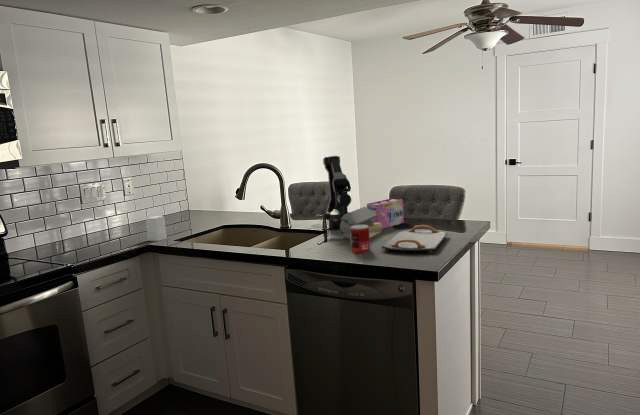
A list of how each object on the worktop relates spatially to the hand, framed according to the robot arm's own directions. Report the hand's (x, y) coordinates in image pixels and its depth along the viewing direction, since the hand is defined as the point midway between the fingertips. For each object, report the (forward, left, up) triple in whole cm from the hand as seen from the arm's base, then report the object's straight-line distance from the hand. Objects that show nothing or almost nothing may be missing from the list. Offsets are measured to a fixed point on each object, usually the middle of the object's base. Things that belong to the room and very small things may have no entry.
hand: (342, 233), depth 240 cm
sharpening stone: (+5, 0, 0) cm, 5 cm away
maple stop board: (+13, 0, -2) cm, 14 cm away
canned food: (+22, -26, -2) cm, 35 cm away
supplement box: (-101, -29, -2) cm, 105 cm away
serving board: (+41, -8, -2) cm, 42 cm away
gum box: (+11, +31, -2) cm, 33 cm away
